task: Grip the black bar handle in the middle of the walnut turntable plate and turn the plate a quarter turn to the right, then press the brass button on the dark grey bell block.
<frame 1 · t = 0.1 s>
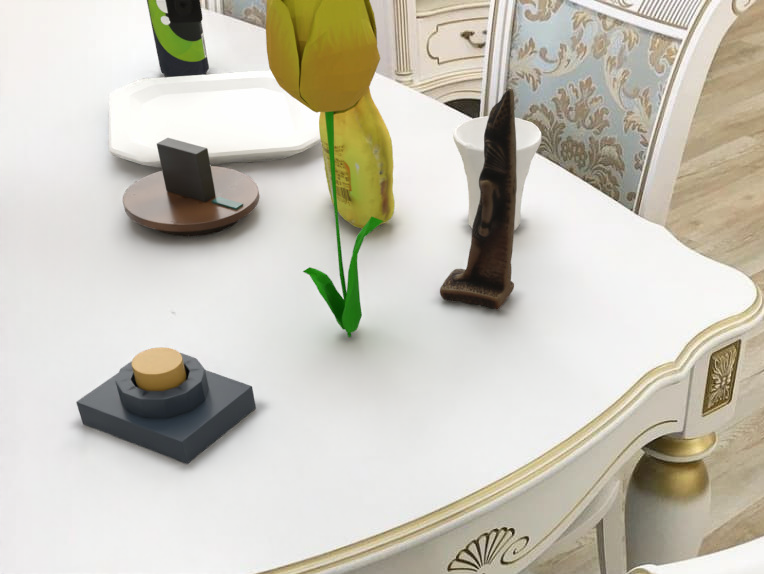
hand: (186, 5, 112), 18 cm above the table, tool pointing down, fingers open, 9 cm apart
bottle: (359, 216, 119), on the table
cup: (495, 228, 118), on the table
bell: (170, 416, 93), on the table
flower: (350, 338, 102), on the table
turntable: (187, 173, 115), point 4 cm above the table, hinge at 0.0°
turntable base: (195, 214, 118), on the table
statue: (480, 300, 107), on the table
bell button: (159, 369, 90), point 4 cm above the table, slide at 0.1 cm
plate: (219, 131, 134), on the table
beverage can: (186, 76, 146), on the table
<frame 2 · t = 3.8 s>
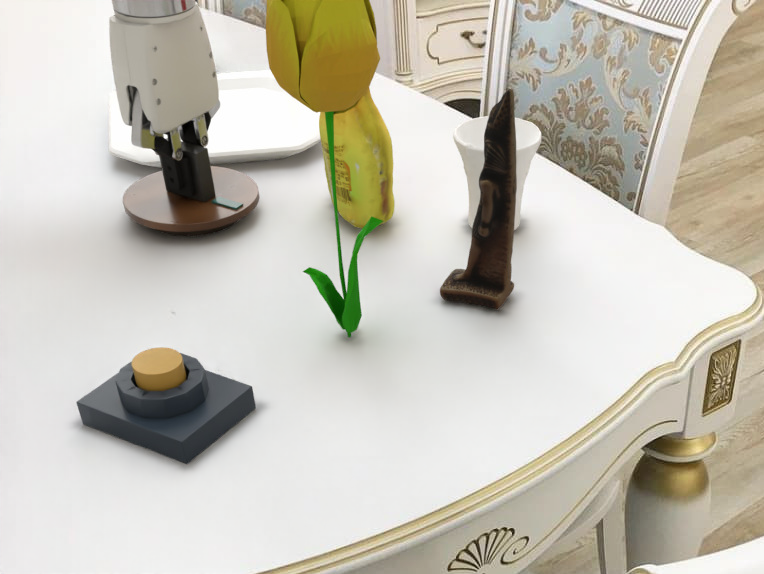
hand: (189, 187, 116), 3 cm above the table, tool pointing down, fingers closed on turntable, 2 cm apart
turntable: (187, 173, 115), point 4 cm above the table, hinge at 0.0°, touching gripper
everything else where it was.
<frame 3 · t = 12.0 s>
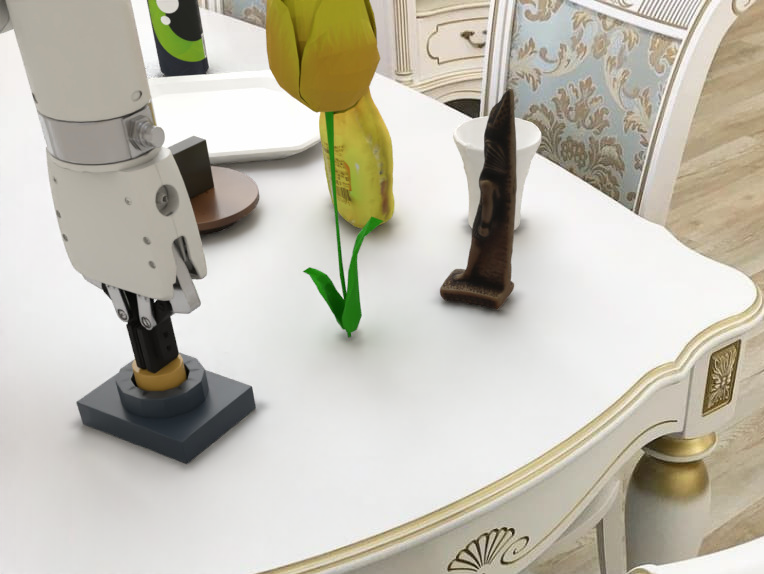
hand: (158, 362, 89), 5 cm above the table, tool pointing down, fingers closed
turntable: (187, 173, 115), point 4 cm above the table, hinge at -94.8°
bell button: (159, 371, 90), point 4 cm above the table, slide at -0.1 cm, touching gripper
everything else where it was.
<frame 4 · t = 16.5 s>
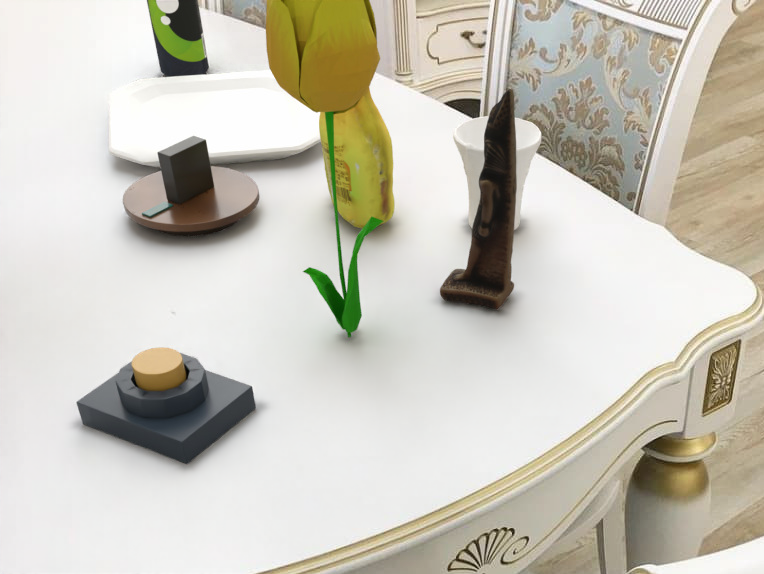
bell button: (159, 369, 90), point 4 cm above the table, slide at 0.1 cm
everything else where it was.
at the end: turntable at -95° (first picture: +0°); bell button pushed in 1.1 cm at the most during the clip, back to where it started at the end; bell button slide at 0.1 cm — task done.
